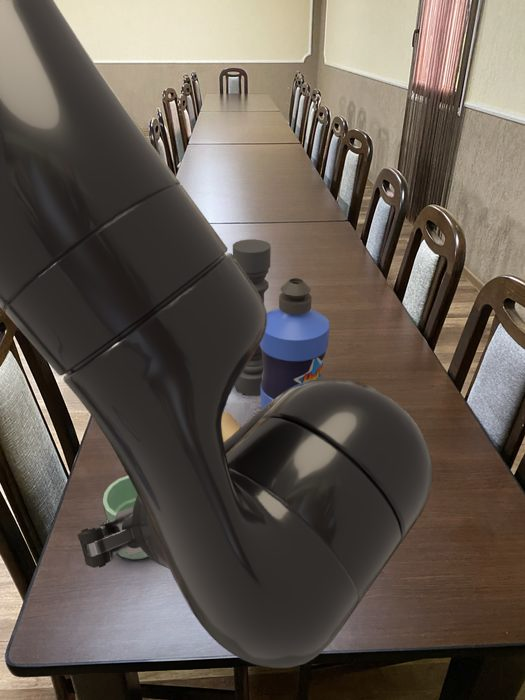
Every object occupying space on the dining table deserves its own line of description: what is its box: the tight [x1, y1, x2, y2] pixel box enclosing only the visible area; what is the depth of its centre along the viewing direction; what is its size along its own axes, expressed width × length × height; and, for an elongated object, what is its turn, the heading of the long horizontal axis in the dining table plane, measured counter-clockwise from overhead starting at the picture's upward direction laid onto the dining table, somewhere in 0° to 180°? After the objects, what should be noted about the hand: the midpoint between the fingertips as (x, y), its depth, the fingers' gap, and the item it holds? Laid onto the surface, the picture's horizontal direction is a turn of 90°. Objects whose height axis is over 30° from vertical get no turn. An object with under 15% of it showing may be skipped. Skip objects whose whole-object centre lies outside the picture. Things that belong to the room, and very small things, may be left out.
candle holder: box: [232, 238, 272, 397], centre depth 86 cm, size 6×6×25 cm
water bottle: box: [260, 277, 331, 410], centre depth 75 cm, size 9×9×25 cm
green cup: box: [102, 475, 149, 560], centre depth 62 cm, size 6×6×8 cm
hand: (157, 515), depth 49 cm, fingers open, 8 cm apart
